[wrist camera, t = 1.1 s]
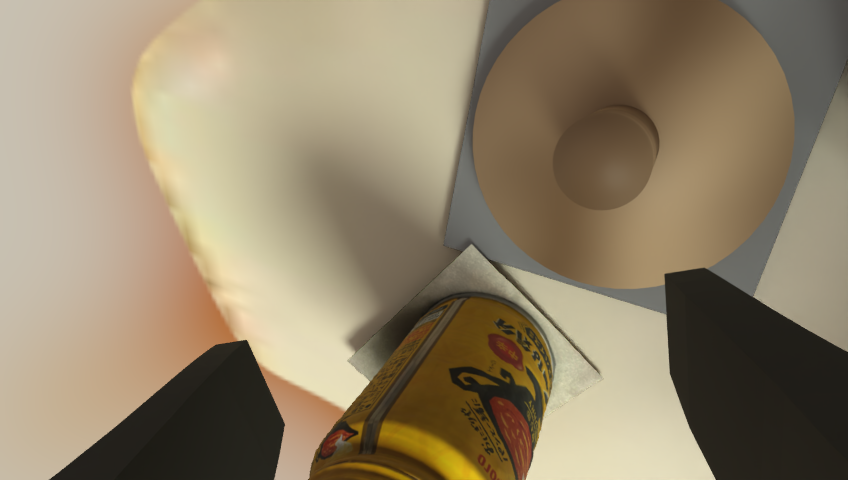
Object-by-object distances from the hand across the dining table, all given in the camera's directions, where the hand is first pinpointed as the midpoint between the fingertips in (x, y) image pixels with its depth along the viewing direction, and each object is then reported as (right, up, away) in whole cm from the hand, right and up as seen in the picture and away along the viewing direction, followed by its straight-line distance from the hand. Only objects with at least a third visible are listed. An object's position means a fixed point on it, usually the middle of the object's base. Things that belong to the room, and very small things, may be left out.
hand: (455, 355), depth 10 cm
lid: (+6, +5, +10) cm, 13 cm away
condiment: (+1, -3, +15) cm, 16 cm away
